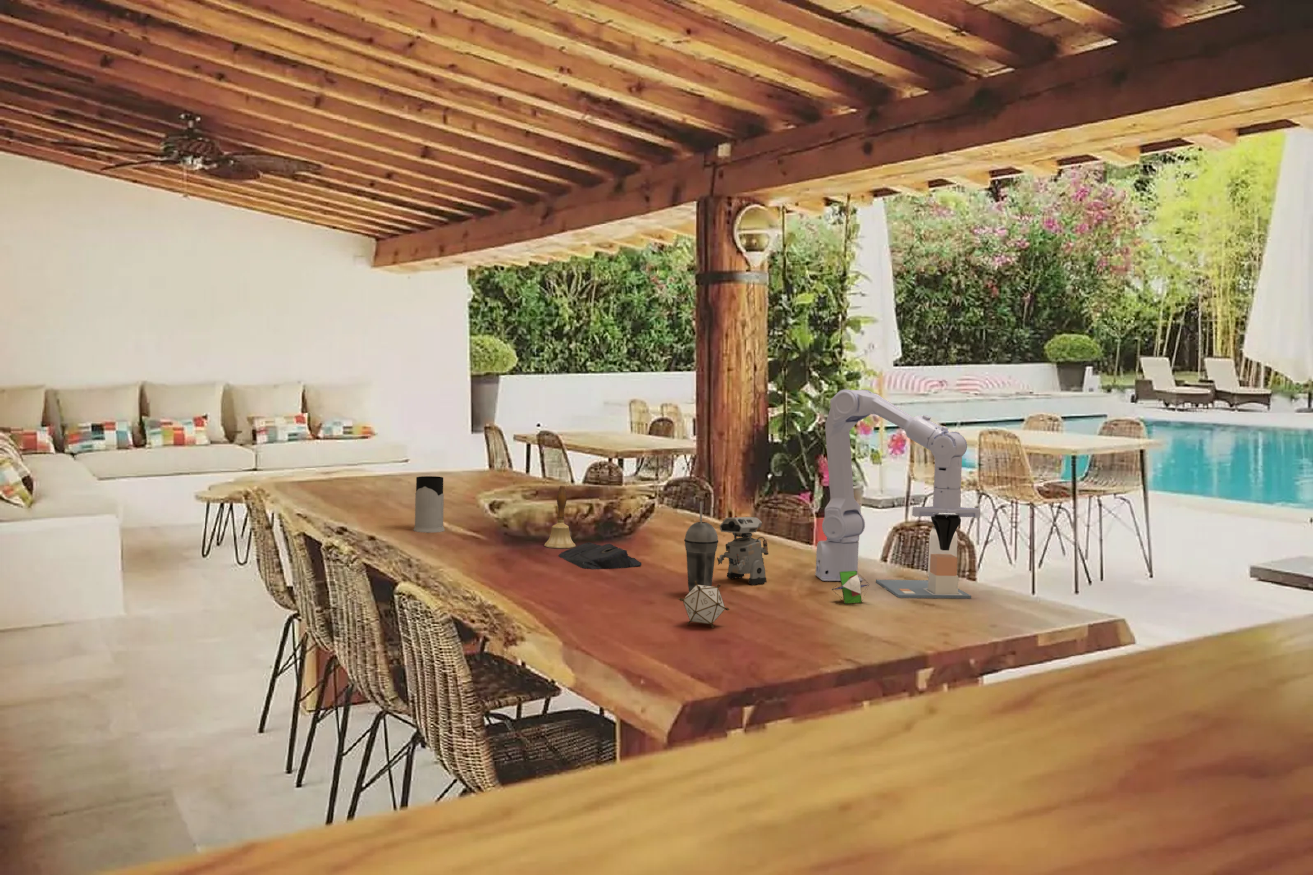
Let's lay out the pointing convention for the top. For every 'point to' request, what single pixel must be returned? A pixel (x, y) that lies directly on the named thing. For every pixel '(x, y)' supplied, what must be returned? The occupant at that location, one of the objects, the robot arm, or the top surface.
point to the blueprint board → (916, 589)
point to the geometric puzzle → (850, 587)
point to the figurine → (744, 549)
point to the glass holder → (429, 504)
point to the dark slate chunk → (599, 557)
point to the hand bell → (560, 525)
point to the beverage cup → (700, 552)
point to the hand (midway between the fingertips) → (944, 549)
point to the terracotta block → (943, 565)
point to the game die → (704, 604)
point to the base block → (942, 584)
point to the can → (935, 547)
